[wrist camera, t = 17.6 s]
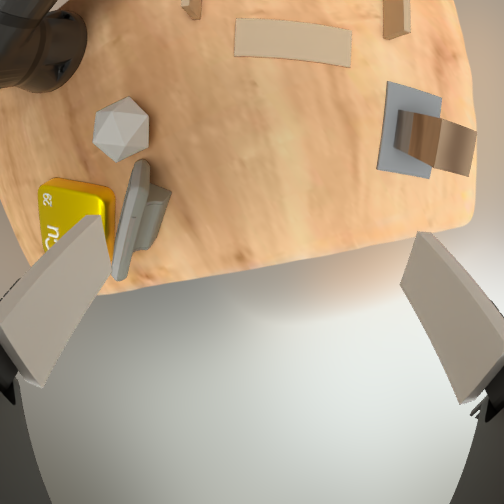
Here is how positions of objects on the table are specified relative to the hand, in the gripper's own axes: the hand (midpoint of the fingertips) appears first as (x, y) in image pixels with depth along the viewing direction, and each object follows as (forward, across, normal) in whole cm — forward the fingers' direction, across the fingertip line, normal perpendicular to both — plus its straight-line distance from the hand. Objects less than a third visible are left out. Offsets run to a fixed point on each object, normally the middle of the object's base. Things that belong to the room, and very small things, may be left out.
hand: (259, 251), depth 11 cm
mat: (+32, +23, +4) cm, 39 cm away
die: (+32, -19, +2) cm, 37 cm away
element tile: (+32, -32, -14) cm, 47 cm away
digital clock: (+32, -19, -11) cm, 39 cm away
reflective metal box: (+31, +23, +4) cm, 39 cm away
